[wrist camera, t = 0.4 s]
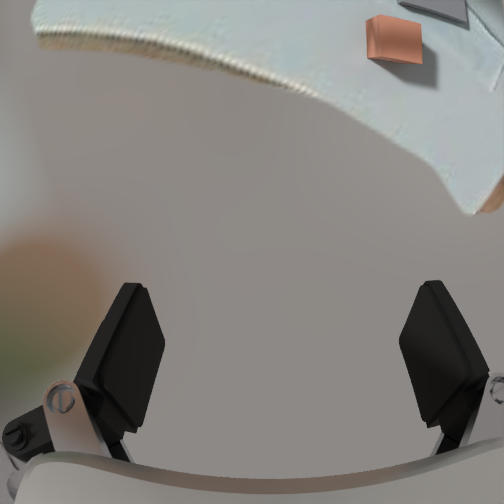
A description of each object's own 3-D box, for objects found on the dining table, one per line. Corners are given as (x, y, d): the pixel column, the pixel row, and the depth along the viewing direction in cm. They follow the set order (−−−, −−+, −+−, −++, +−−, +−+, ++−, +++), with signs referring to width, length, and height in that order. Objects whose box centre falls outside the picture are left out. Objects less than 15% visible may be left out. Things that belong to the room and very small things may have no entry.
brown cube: (365, 21, 25) (379, 14, 20) (402, 28, 24) (420, 23, 20) (367, 58, 27) (381, 56, 23) (404, 63, 27) (422, 64, 23)
